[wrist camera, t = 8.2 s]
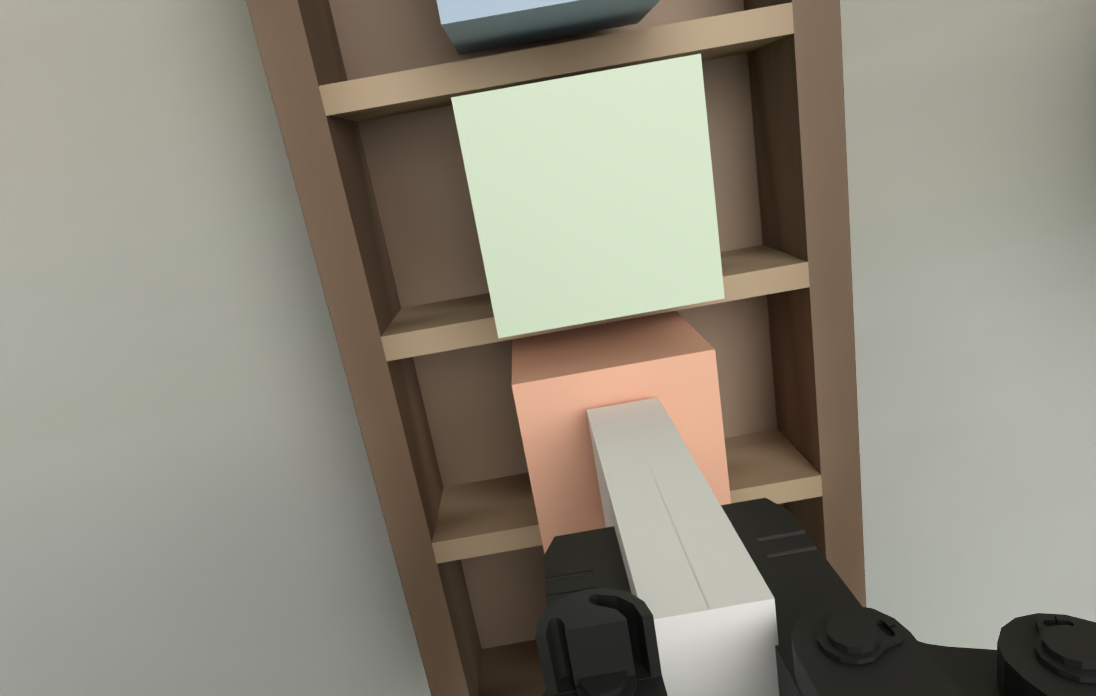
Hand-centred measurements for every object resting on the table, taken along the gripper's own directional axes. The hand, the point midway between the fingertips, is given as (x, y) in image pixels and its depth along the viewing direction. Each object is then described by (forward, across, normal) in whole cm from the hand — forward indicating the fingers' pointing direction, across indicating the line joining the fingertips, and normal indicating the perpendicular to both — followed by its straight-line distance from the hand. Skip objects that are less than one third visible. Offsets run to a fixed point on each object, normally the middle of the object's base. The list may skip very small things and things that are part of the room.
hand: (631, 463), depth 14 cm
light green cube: (+3, 0, +6) cm, 6 cm away
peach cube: (+4, 0, 0) cm, 4 cm away
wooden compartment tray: (+8, 0, +3) cm, 8 cm away
